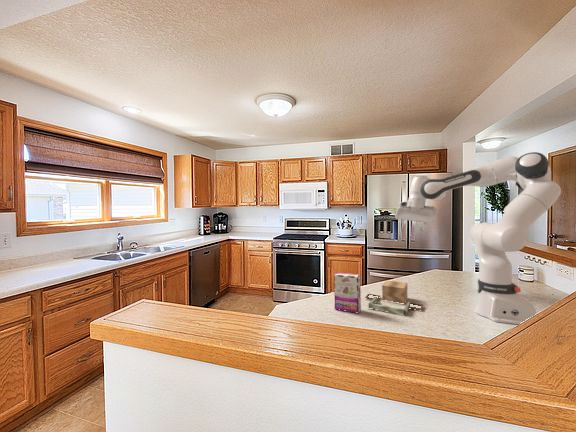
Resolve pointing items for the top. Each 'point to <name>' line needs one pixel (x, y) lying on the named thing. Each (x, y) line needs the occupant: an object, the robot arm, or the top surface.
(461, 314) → the top surface
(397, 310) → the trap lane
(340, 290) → the candy bar box
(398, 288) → the block
